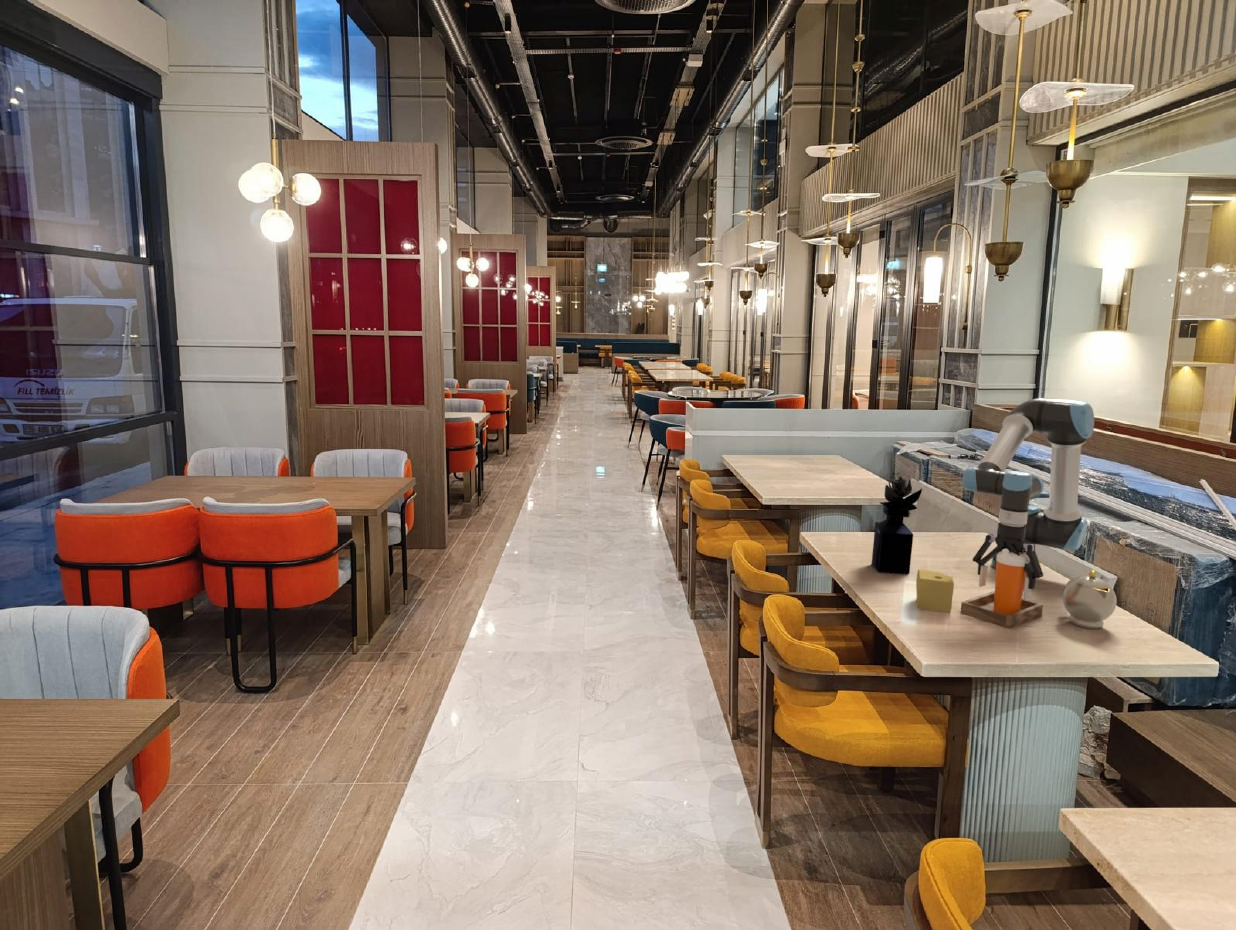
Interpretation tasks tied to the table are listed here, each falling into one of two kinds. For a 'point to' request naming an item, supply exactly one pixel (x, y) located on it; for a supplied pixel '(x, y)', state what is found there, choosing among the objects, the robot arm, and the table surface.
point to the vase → (895, 530)
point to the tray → (984, 611)
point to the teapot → (1089, 601)
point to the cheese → (934, 591)
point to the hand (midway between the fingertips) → (1003, 592)
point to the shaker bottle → (1009, 581)
